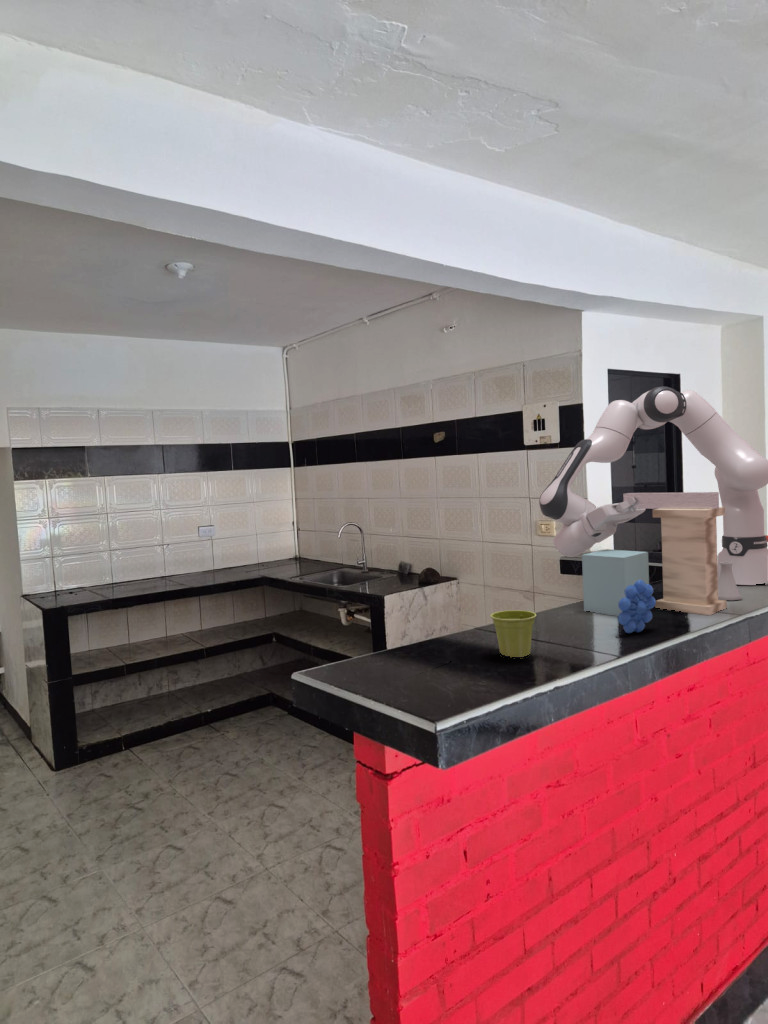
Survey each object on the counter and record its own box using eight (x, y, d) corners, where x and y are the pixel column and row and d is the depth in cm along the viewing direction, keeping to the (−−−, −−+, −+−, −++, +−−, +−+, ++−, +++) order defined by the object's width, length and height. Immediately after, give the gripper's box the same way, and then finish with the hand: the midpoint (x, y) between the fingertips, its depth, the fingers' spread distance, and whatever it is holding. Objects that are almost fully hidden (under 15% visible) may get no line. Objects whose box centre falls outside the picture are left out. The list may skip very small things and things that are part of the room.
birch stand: (673, 602, 186) (671, 506, 184) (726, 608, 175) (724, 507, 173) (655, 608, 179) (652, 509, 177) (709, 615, 169) (706, 510, 167)
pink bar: (630, 507, 189) (630, 492, 189) (719, 508, 171) (718, 492, 171) (623, 508, 187) (623, 493, 187) (712, 509, 169) (712, 493, 169)
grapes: (639, 625, 163) (637, 575, 162) (663, 630, 157) (662, 578, 156) (605, 633, 157) (603, 581, 156) (629, 638, 151) (627, 585, 150)
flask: (747, 600, 183) (746, 563, 182) (719, 601, 183) (718, 564, 182) (733, 595, 190) (733, 560, 190) (707, 596, 190) (706, 561, 190)
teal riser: (608, 603, 188) (606, 549, 187) (649, 608, 179) (648, 552, 178) (583, 611, 181) (581, 554, 180) (625, 617, 171) (623, 557, 170)
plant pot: (484, 653, 145) (482, 613, 145) (521, 647, 149) (520, 607, 148) (507, 664, 137) (505, 621, 136) (547, 657, 140) (545, 615, 140)
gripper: (625, 529, 201) (664, 506, 191) (586, 536, 187) (625, 512, 178) (615, 510, 203) (652, 486, 193) (575, 516, 189) (614, 491, 180)
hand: (639, 498), depth 185 cm, fingers closed on pink bar, 3 cm apart
